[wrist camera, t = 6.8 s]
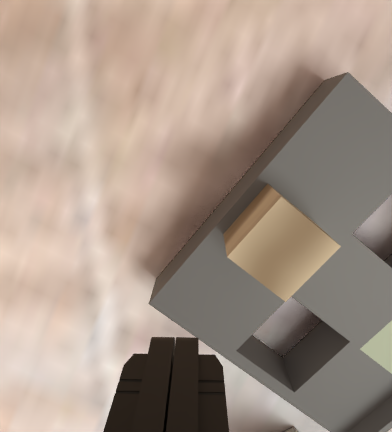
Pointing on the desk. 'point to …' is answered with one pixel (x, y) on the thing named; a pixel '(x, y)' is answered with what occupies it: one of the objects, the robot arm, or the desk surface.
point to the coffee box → (291, 430)
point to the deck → (320, 281)
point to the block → (277, 243)
